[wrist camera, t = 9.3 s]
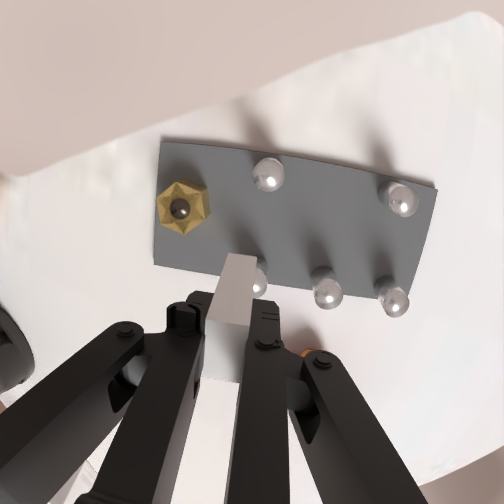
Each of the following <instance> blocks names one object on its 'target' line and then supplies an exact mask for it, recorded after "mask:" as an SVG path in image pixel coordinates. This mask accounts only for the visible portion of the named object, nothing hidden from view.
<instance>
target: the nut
mask: <svg viewBox="0 0 504 504" xmlns="http://www.w3.org/2000/svg"><path fill="white" fill-rule="evenodd" d="M156 200H157V206H158V212H159V218H160V223H161V225H163V226H165V227H168V228H170V229H172V230H174V231H177V232H179V233H181V234H183V235H185V234H187V233H188V232H189V231H191V230H192V229H193V228H195V227H196V226H197V225H199V224H200V223H201V222H203V221H204V220H205V219H206V218H207V217H208V216H209V215H210V214H211V211H210V203H209V196H208V189H207V188H206V187H204V186H202V185H199V184H197V183H195V182H192V181H190V180H188V179H185V178H183V179H181V180H179V181H176V182H175V183H174V184H173V185H171V186H170V187H169V188H168V189H166V190H165V191H164V192H163V193H162V194H161V195H159V196H158V197H157V198H156Z"/></svg>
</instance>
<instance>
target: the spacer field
mask: <svg viewBox="0 0 504 504" xmlns="http://www.w3.org/2000/svg"><path fill="white" fill-rule="evenodd" d="M252 179H253V182H254V184H255V185H256V186H257V187H258V188H259V189H260V190H263V191H266V192H271V191H275V190H277V189H278V188H280V187H281V185H282V184H283V182H284V179H285V173H284V168H283V165H282V163H281V162H280V161H279V160H278V159H276V158H273V157H266V158H263V159H262V160H260V161H259V162H258V164H257V165H256V166H255V167H254V169H253V172H252ZM378 199H379V201H380V202H381V203H382V204H383V205H384V206H386V207H387V208H389V209H390V210H392V211H393V212H395V213H396V214H398V215H399V216H402V217H409V216H411V215H413V214H414V213H415V212H416V210H417V209H418V206H419V198H418V195H417V193H416V192H415V191H414V190H413V189H411V188H409V187H407V186H404V185H402V184H399V183H397V182H394V181H385V182H383V183H382V184H381V185H380V187H379V189H378ZM251 256H255V257H257V262H256V272H255V281H254V291H253V298H254V299H255V298H259V297H261V296H262V295H263V294H264V293H265V291H266V288H267V276H268V263H267V261H266V260H265V259H264V258H263V257H261V256H259V255H251ZM311 283H312V288H313V292H314V297H315V302H316V304H317V305H318V306H319V307H320V308H322V309H327V310H329V309H333V308H335V307H337V306H338V305H339V304H340V303H341V301H342V299H343V292H342V290H341V287H340V285H339V282H338V280H337V277H336V274H335V272H334V270H333V269H332V268H331V267H328V266H319V267H317V268H316V269H314V271H313V272H312V274H311ZM374 292H375V294H376V296H377V298H378V299H379V301H380V303H381V305H382V306H383V308H384V310H385V312H386V314H387V315H388V316H390V317H399V316H401V315H403V314H404V313H405V312H406V311H407V309H408V307H409V299H408V297H407V296H406V294H405V293H404V292H403V290H402V289H401V288H400V286H399V285H398V284H397V282H396V281H395V279H394V278H393V277H391V276H389V275H384V276H381V277H380V278H378V279H377V280H376V282H375V284H374Z"/></svg>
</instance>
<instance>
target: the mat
mask: <svg viewBox="0 0 504 504" xmlns="http://www.w3.org/2000/svg"><path fill="white" fill-rule="evenodd" d="M266 157H273V158H276V159H278V160H279V161H280V162H281V163H282V165H283V168H284V173H285V179H284V182H283V184H282V185H281V187H280V188H278V189H277V190H275V191H271V192H266V191H263V190H260V189H259V188H258V187H257V186H256V185H255V184H254V182H253V179H252V172H253V169H254V167H255V166H256V165H257V164H258V162H259V161H260V160H262V159H263V158H266ZM183 178H185V179H188V180H190V181H192V182H195V183H197V184H199V185H202V186H204V187H206V188H207V189H208V196H209V203H210V211H211V214H210V215H209V216H208V217H207V218H206V219H205V220H204V221H203V222H201V223H200V224H199V225H197V226H196V227H195V228H193V229H192V230H191V231H189V232H188V233H187V234H185V235H183V234H181V233H179V232H177V231H174V230H172V229H170V228H168V227H165V226H163V225H161V223H160V218H159V212H158V206H157V200H156V212H155V235H154V265H158V266H164V267H170V268H175V269H181V270H187V271H193V272H199V273H205V274H211V275H217V276H221V273H222V270H223V267H224V264H225V262H226V259H227V256H228V253H234V254H241V255H248V256H251V255H259V256H261V257H263V258H264V259H265V260H266V261H267V263H268V276H267V284H273V285H280V286H287V287H293V288H300V289H307V290H313V288H312V283H311V274H312V272H313V271H314V269H316V268H317V267H319V266H328V267H331V268H332V269H333V270H334V272H335V274H336V277H337V280H338V282H339V285H340V287H341V290H342V292H343V295H350V296H357V297H365V298H373V299H378V298H377V296H376V294H375V292H374V284H375V282H376V280H377V279H378V278H380V277H381V276H384V275H389V276H391V277H393V278H394V279H395V281H396V282H397V284H398V285H399V286H400V288H401V289H402V290H403V292H404V293H405V294H406V296H407V297H408V294H409V291H410V288H411V285H412V282H413V279H414V276H415V273H416V270H417V267H418V264H419V261H420V257H421V254H422V251H423V247H424V244H425V240H426V236H427V233H428V229H429V225H430V221H431V217H432V213H433V209H434V205H435V201H436V196H437V192H438V189H435V188H431V187H428V186H424V185H420V184H417V183H413V182H409V181H405V180H401V179H398V178H394V177H389V176H385V175H381V174H377V173H373V172H368V171H364V170H359V169H355V168H350V167H345V166H340V165H335V164H330V163H325V162H320V161H314V160H309V159H303V158H297V157H291V156H285V155H279V154H272V153H265V152H258V151H251V150H244V149H236V148H227V147H218V146H209V145H199V144H188V143H176V142H161V146H160V157H159V168H158V180H157V195H156V198H157V197H158V196H159V195H161V194H162V193H163V192H164V191H165V190H166V189H168V188H169V187H170V186H171V185H173V184H174V183H175V182H176V181H179V180H181V179H183ZM385 181H394V182H397V183H399V184H402V185H404V186H407V187H409V188H411V189H413V190H414V191H415V192H416V193H417V195H418V198H419V206H418V209H417V210H416V212H415V213H414V214H413V215H411V216H409V217H402V216H399V215H398V214H396V213H395V212H393V211H392V210H390V209H389V208H387V207H386V206H384V205H383V204H382V203H381V202H380V201H379V199H378V189H379V187H380V185H381V184H382V183H383V182H385Z"/></svg>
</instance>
